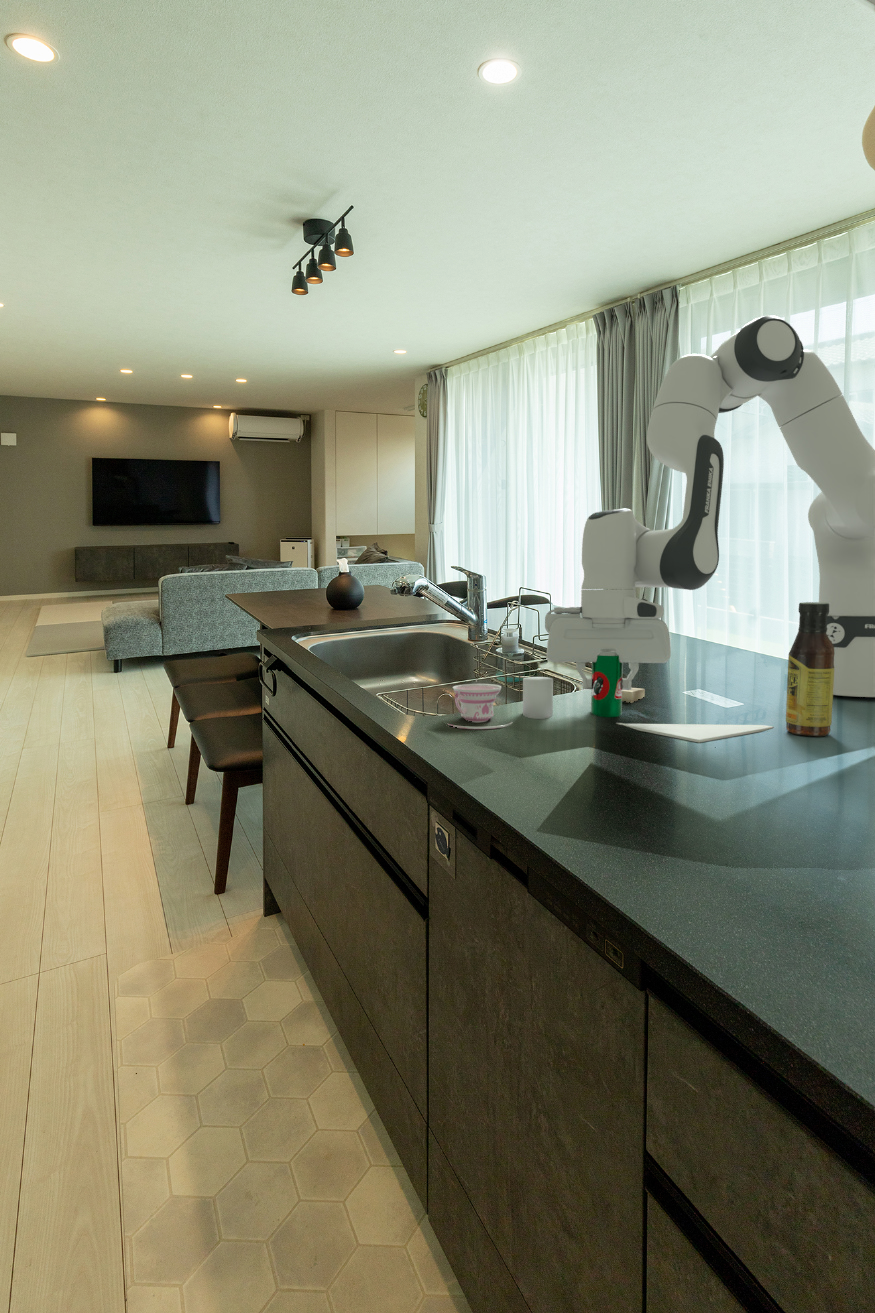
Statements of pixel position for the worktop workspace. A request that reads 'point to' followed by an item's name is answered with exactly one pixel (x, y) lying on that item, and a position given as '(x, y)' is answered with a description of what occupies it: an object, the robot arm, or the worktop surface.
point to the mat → (698, 730)
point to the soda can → (607, 685)
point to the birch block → (633, 694)
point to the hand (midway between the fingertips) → (606, 689)
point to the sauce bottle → (810, 674)
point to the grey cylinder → (538, 697)
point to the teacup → (476, 703)
